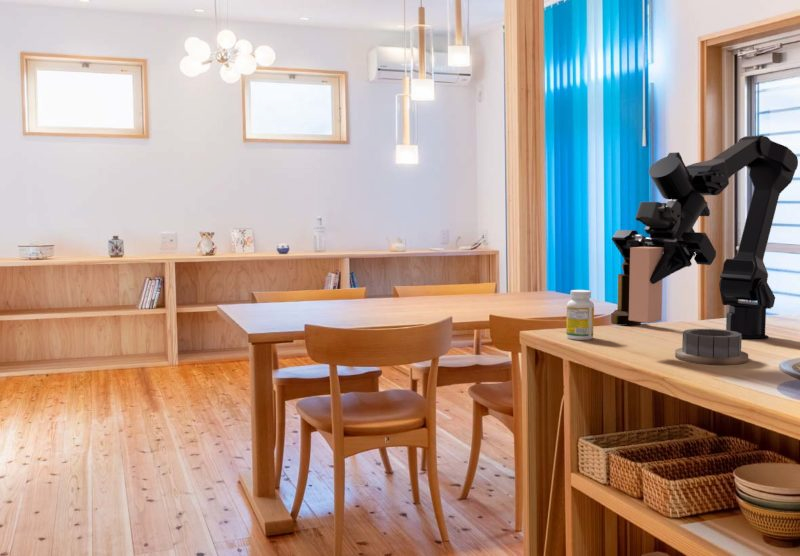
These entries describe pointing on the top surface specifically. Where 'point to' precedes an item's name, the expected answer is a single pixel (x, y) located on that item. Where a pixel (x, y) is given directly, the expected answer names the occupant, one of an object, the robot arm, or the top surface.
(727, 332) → the socket
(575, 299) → the supplement bottle
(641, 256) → the terracotta peg
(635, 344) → the top surface
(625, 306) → the dark wooden chess piece
